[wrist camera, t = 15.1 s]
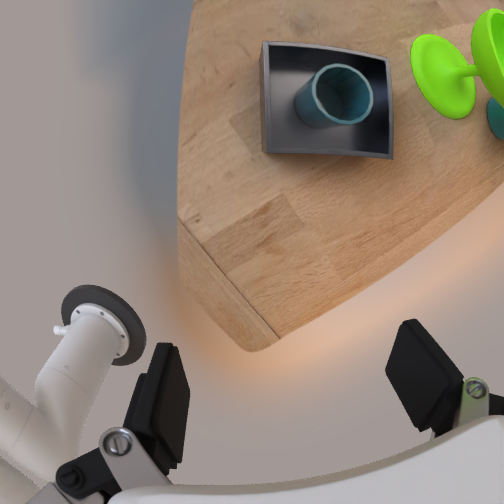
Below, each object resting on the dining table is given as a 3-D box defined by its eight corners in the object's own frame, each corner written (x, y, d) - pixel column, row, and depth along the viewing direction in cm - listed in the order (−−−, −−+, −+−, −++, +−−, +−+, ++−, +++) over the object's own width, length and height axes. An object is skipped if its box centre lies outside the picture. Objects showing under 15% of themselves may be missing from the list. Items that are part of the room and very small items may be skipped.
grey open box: (261, 151, 34) (266, 153, 27) (259, 59, 29) (262, 40, 22) (368, 155, 34) (393, 159, 27) (366, 69, 29) (389, 58, 22)
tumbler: (295, 127, 32) (313, 121, 23) (294, 79, 29) (310, 60, 21) (343, 130, 32) (374, 127, 23) (342, 84, 29) (371, 69, 21)
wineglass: (447, 29, 24) (513, 8, 7) (484, 105, 29) (554, 110, 13) (393, 43, 27) (467, 8, 10) (439, 132, 32) (523, 141, 15)
